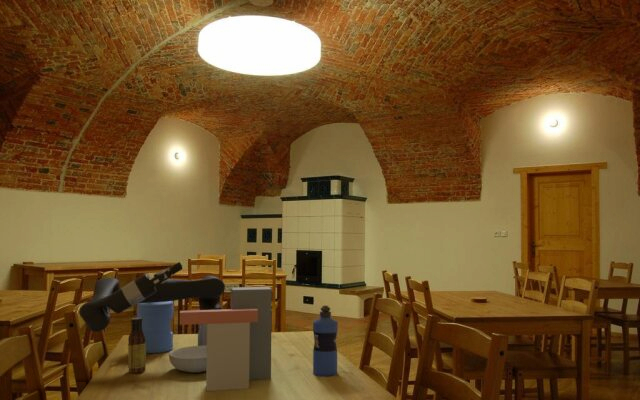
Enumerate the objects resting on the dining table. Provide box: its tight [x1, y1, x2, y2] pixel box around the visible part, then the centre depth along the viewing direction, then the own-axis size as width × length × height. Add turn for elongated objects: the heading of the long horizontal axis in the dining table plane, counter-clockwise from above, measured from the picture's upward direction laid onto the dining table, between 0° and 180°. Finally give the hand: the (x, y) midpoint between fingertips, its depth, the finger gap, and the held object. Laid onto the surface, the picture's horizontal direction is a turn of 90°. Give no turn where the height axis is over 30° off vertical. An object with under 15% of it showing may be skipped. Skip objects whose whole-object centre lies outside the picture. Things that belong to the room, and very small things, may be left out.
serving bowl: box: [168, 345, 207, 374], centre depth 207 cm, size 21×21×7 cm
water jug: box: [136, 301, 175, 354], centre depth 240 cm, size 16×16×28 cm
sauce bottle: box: [127, 317, 147, 374], centre depth 204 cm, size 6×6×20 cm
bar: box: [179, 308, 258, 326], centre depth 184 cm, size 26×4×4 cm, turn 104°
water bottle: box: [312, 305, 339, 378], centre depth 203 cm, size 9×9×25 cm
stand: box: [205, 286, 273, 392], centre depth 192 cm, size 23×18×32 cm
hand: (181, 265), depth 190 cm, fingers open, 8 cm apart
